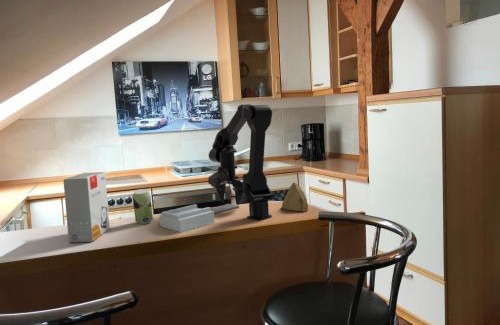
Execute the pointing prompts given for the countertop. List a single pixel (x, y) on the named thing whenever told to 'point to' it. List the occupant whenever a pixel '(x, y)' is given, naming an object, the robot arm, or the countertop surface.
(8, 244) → the countertop surface
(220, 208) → the cover plate
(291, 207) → the rock
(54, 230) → the countertop surface
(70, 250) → the countertop surface
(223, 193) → the robot arm
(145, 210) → the beverage can
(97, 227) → the hard drive box
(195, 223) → the lidded box
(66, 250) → the countertop surface
